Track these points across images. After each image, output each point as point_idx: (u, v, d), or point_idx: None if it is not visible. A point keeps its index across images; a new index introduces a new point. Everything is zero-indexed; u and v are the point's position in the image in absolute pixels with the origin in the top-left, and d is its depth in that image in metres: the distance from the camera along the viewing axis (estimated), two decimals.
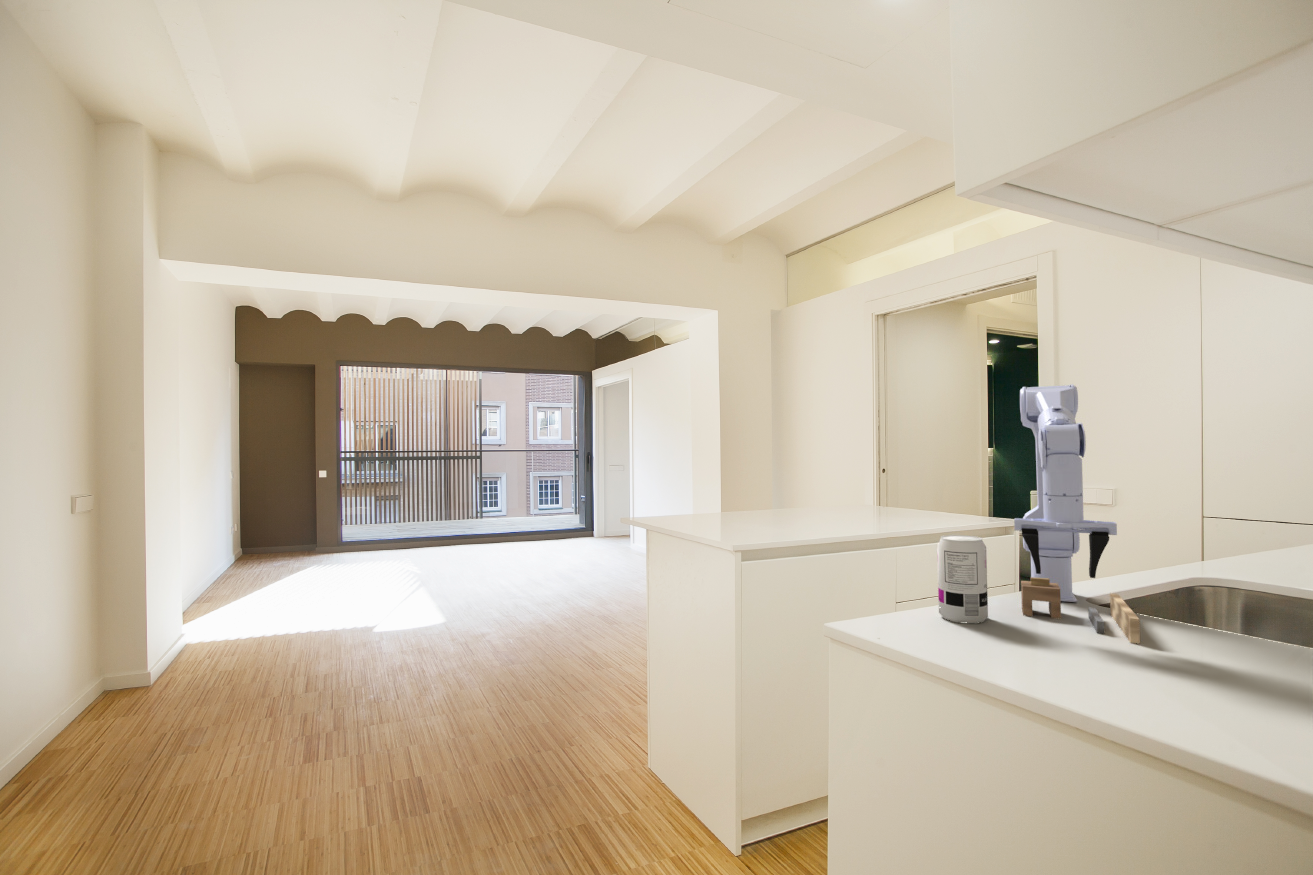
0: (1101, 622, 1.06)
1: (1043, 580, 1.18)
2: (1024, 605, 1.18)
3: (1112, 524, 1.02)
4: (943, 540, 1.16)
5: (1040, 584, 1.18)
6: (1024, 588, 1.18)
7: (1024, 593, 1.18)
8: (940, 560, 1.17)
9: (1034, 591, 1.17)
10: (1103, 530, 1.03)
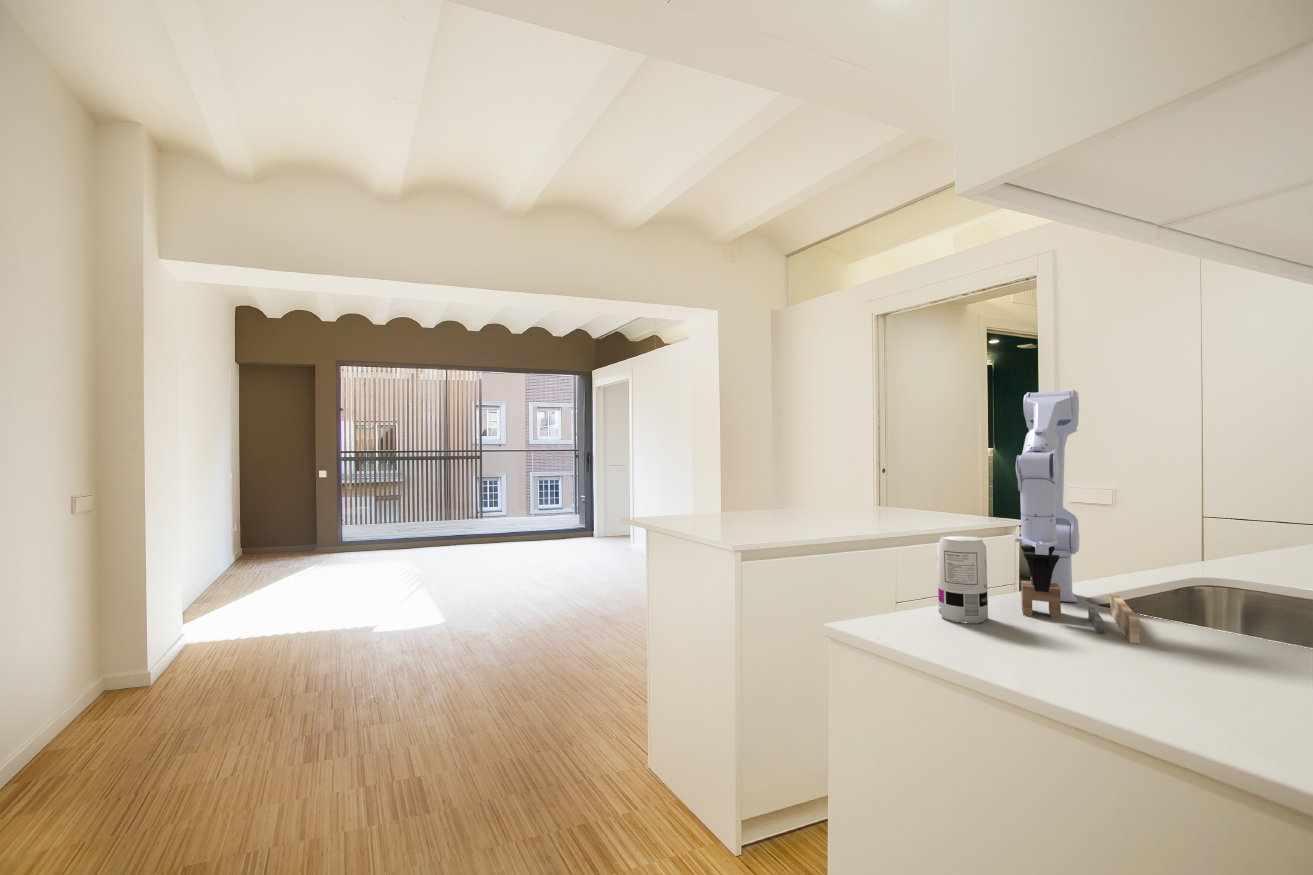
0: (1101, 622, 1.06)
1: None
2: (1024, 605, 1.18)
3: (1035, 544, 1.13)
4: (943, 540, 1.16)
5: None
6: (1024, 588, 1.18)
7: (1024, 593, 1.18)
8: (940, 560, 1.17)
9: (1034, 591, 1.17)
10: None
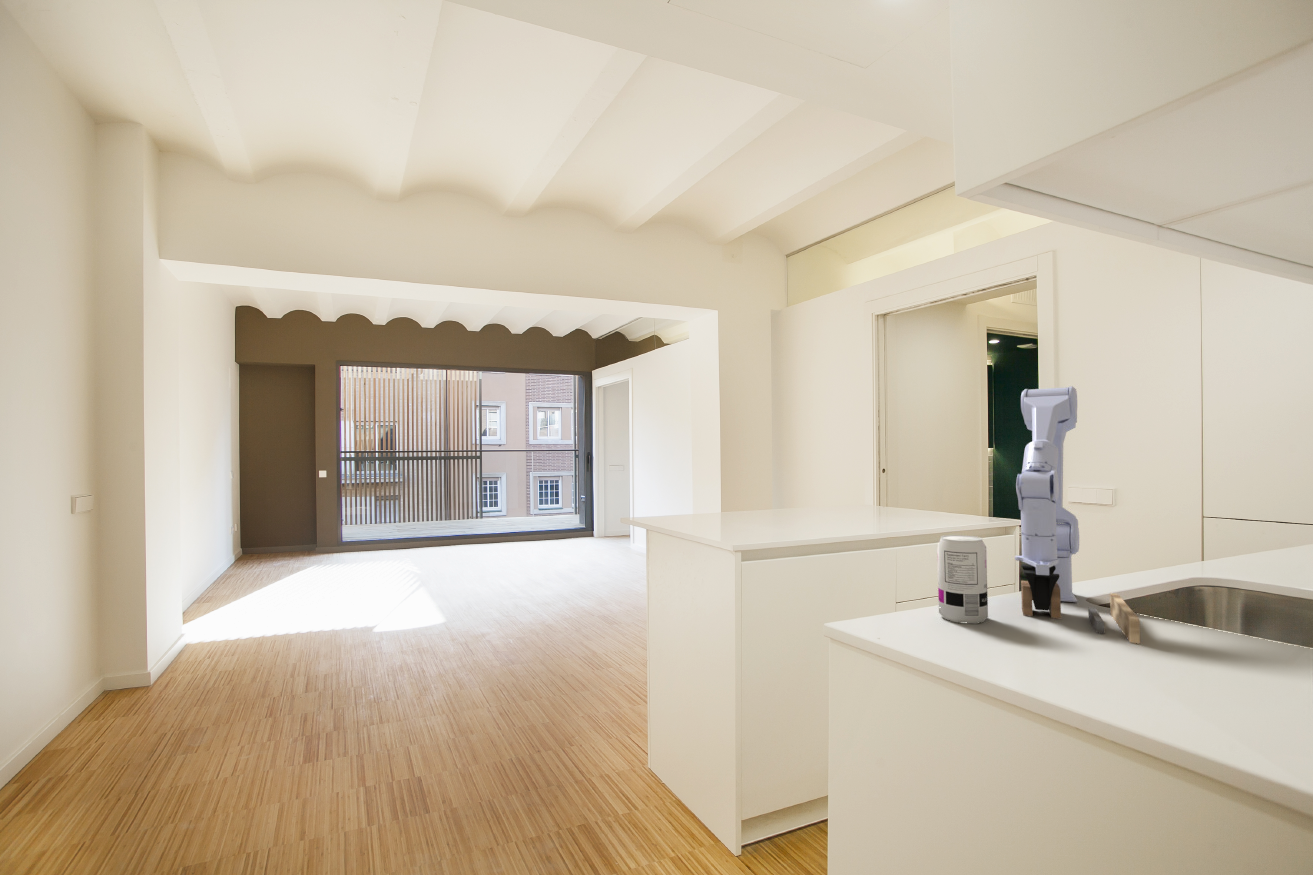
0: (1101, 622, 1.06)
1: None
2: (1024, 605, 1.18)
3: (1035, 564, 1.13)
4: (943, 540, 1.16)
5: None
6: (1024, 588, 1.18)
7: (1024, 593, 1.18)
8: (940, 560, 1.16)
9: None
10: None
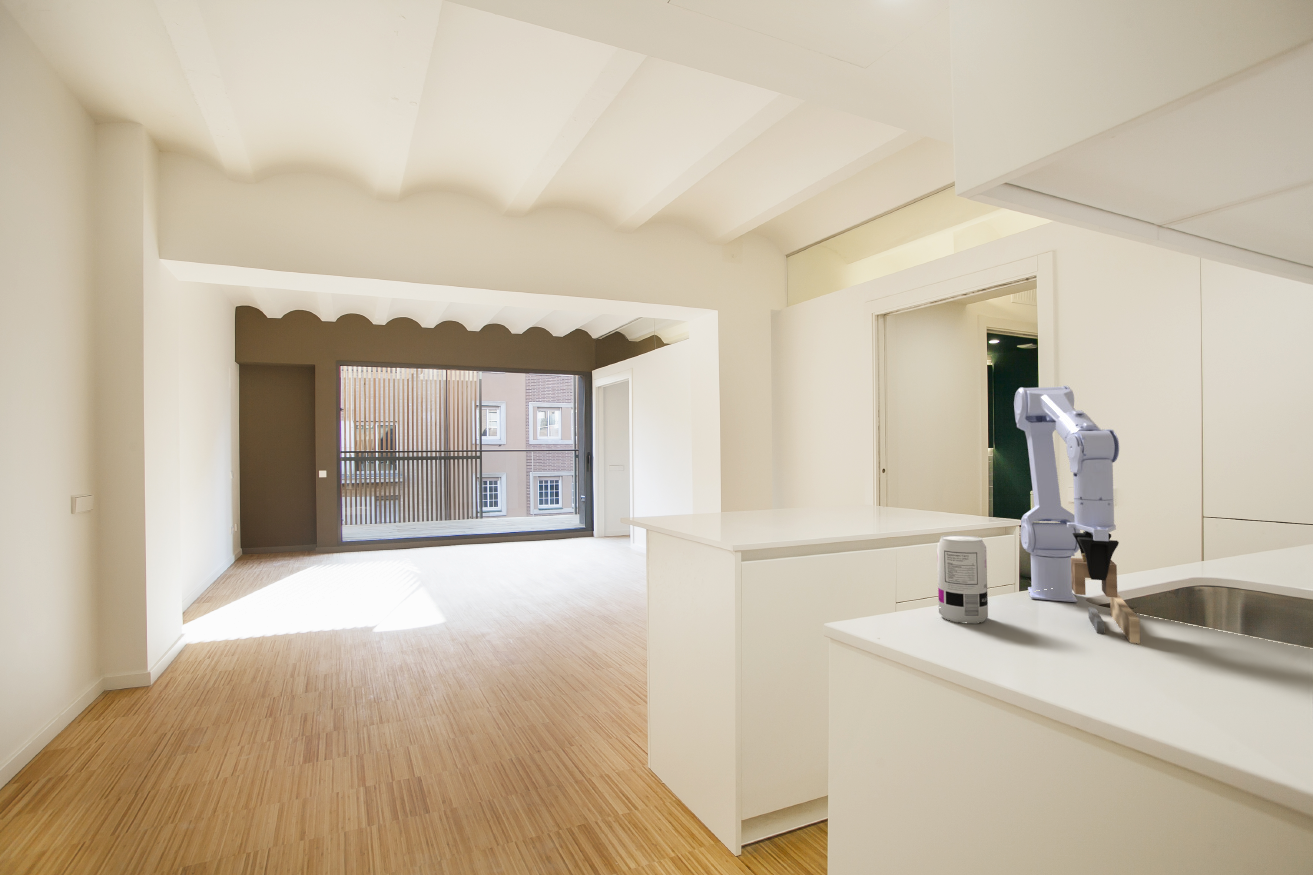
0: (1101, 622, 1.06)
1: None
2: (1076, 583, 1.09)
3: (1093, 529, 1.04)
4: (943, 540, 1.16)
5: None
6: (1076, 565, 1.09)
7: (1076, 570, 1.09)
8: (940, 560, 1.17)
9: (1087, 568, 1.08)
10: None
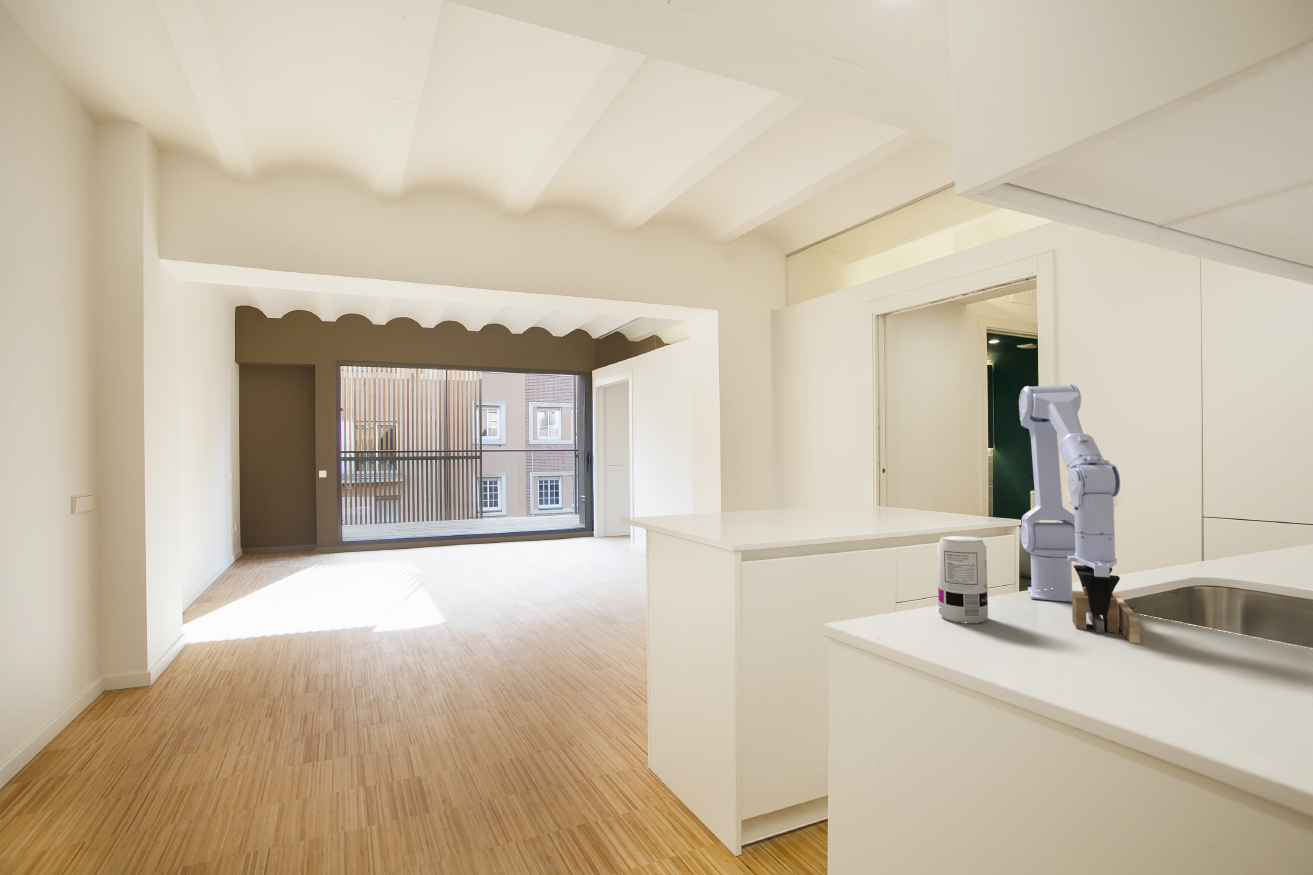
0: (1101, 622, 1.06)
1: None
2: (1077, 617, 1.09)
3: (1094, 565, 1.04)
4: (943, 540, 1.16)
5: None
6: (1077, 599, 1.09)
7: (1077, 604, 1.09)
8: (940, 560, 1.17)
9: (1088, 603, 1.08)
10: None
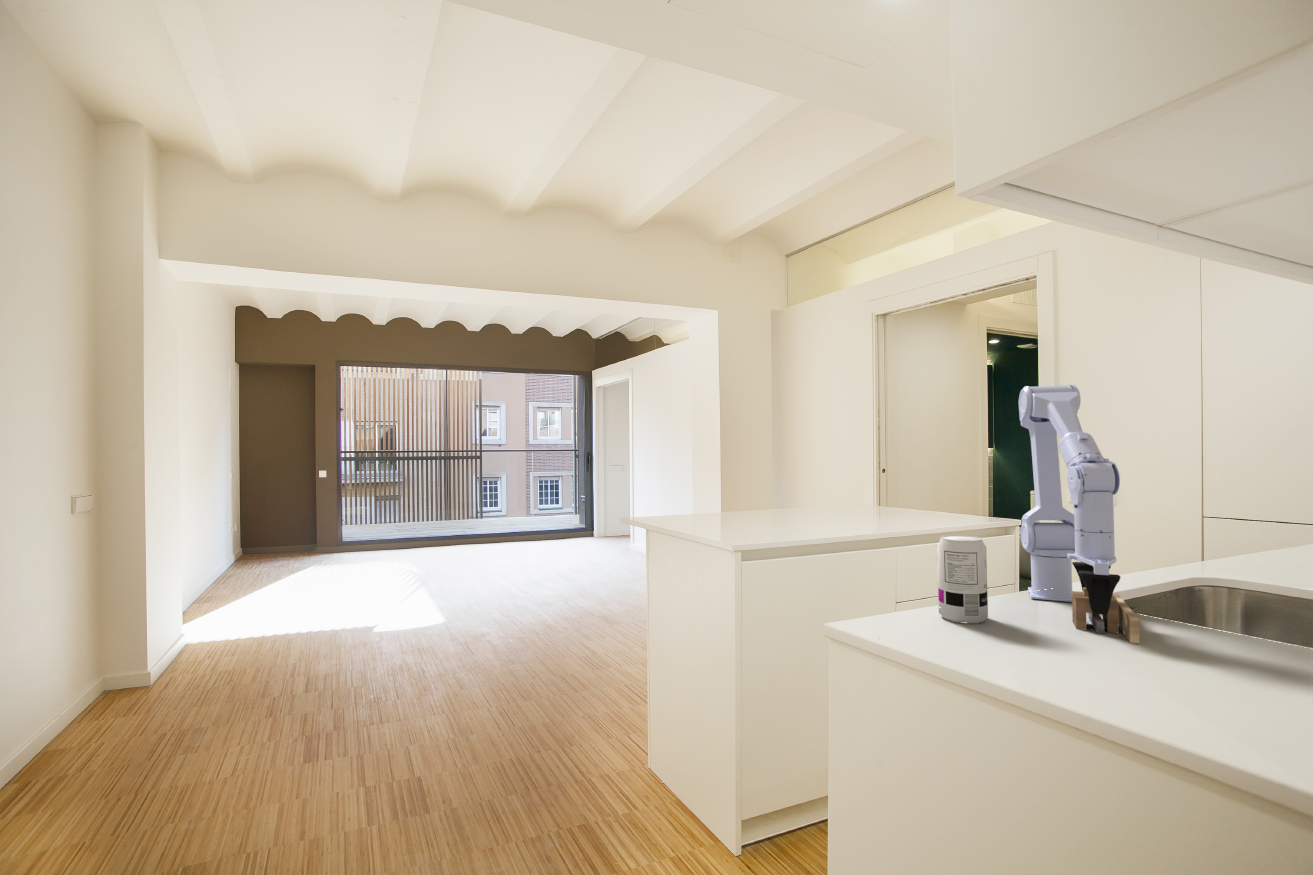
0: (1101, 622, 1.06)
1: None
2: (1077, 618, 1.09)
3: (1093, 563, 1.04)
4: (943, 540, 1.16)
5: None
6: (1077, 599, 1.09)
7: (1077, 605, 1.09)
8: (940, 560, 1.17)
9: (1088, 603, 1.08)
10: None
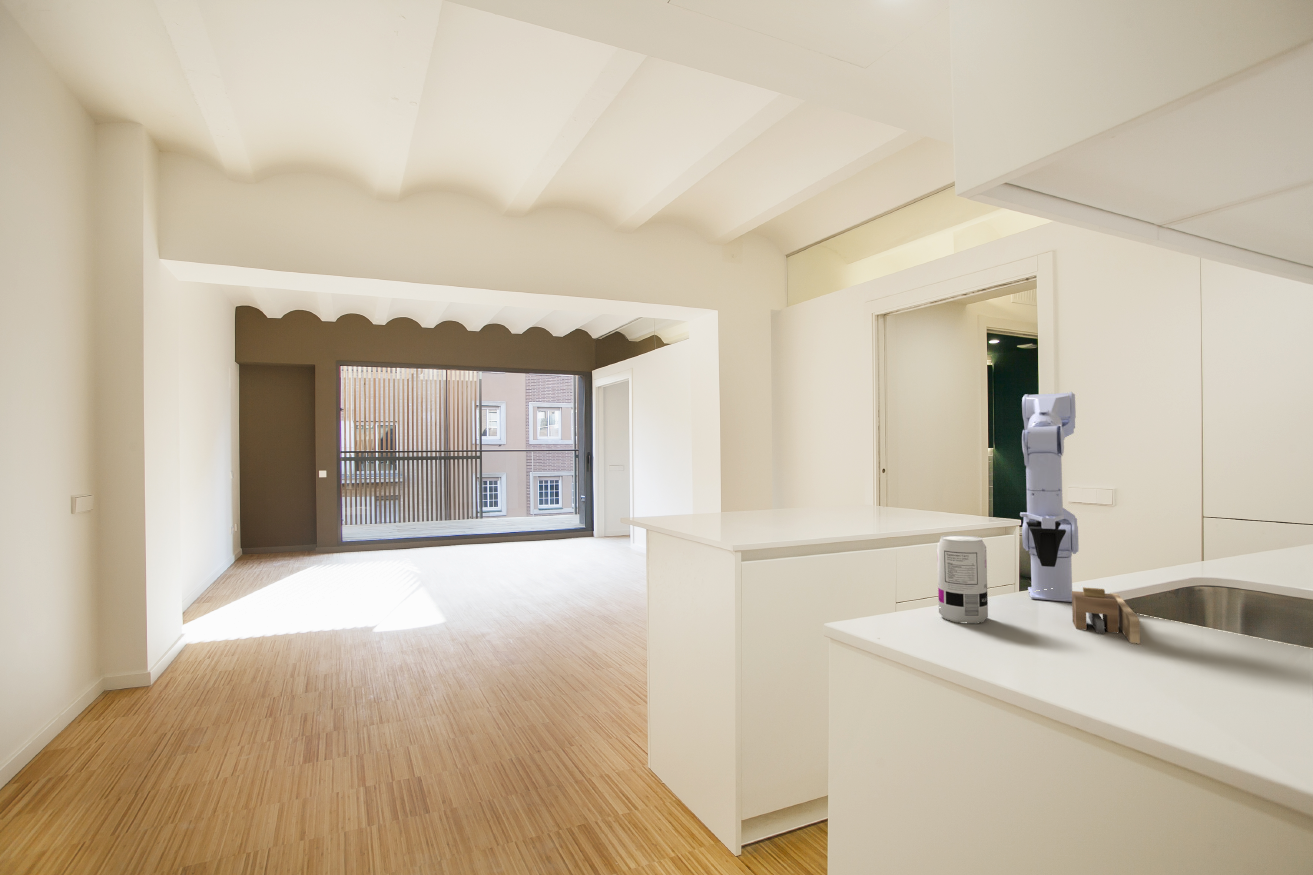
0: (1101, 622, 1.06)
1: (1098, 591, 1.09)
2: (1077, 618, 1.09)
3: (1041, 518, 1.12)
4: (943, 540, 1.16)
5: (1094, 595, 1.09)
6: (1077, 599, 1.09)
7: (1077, 605, 1.09)
8: (940, 560, 1.17)
9: (1088, 603, 1.08)
10: None
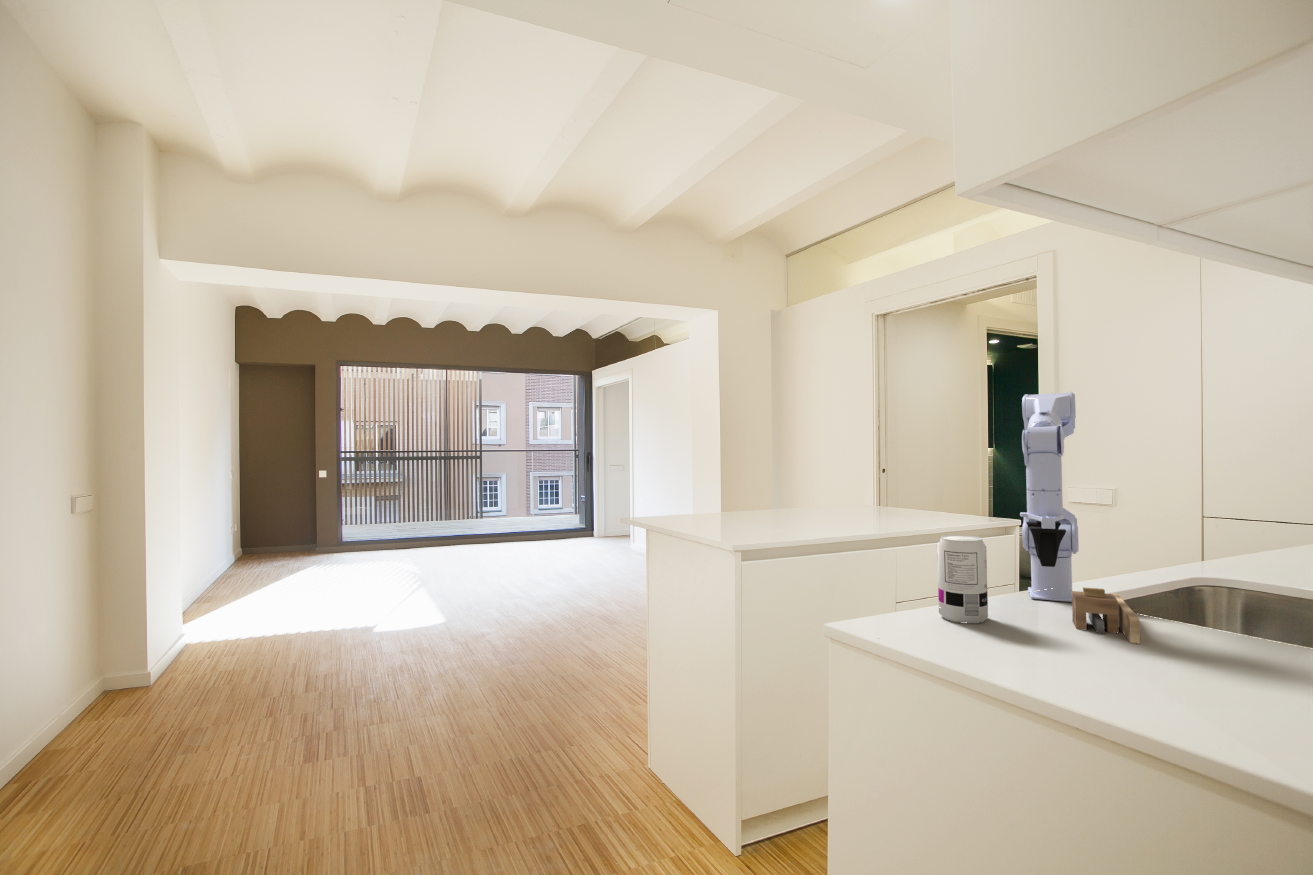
0: (1101, 622, 1.06)
1: (1098, 591, 1.09)
2: (1077, 618, 1.09)
3: (1041, 518, 1.12)
4: (943, 540, 1.16)
5: (1094, 595, 1.09)
6: (1077, 599, 1.09)
7: (1077, 605, 1.09)
8: (940, 560, 1.17)
9: (1088, 603, 1.08)
10: None
